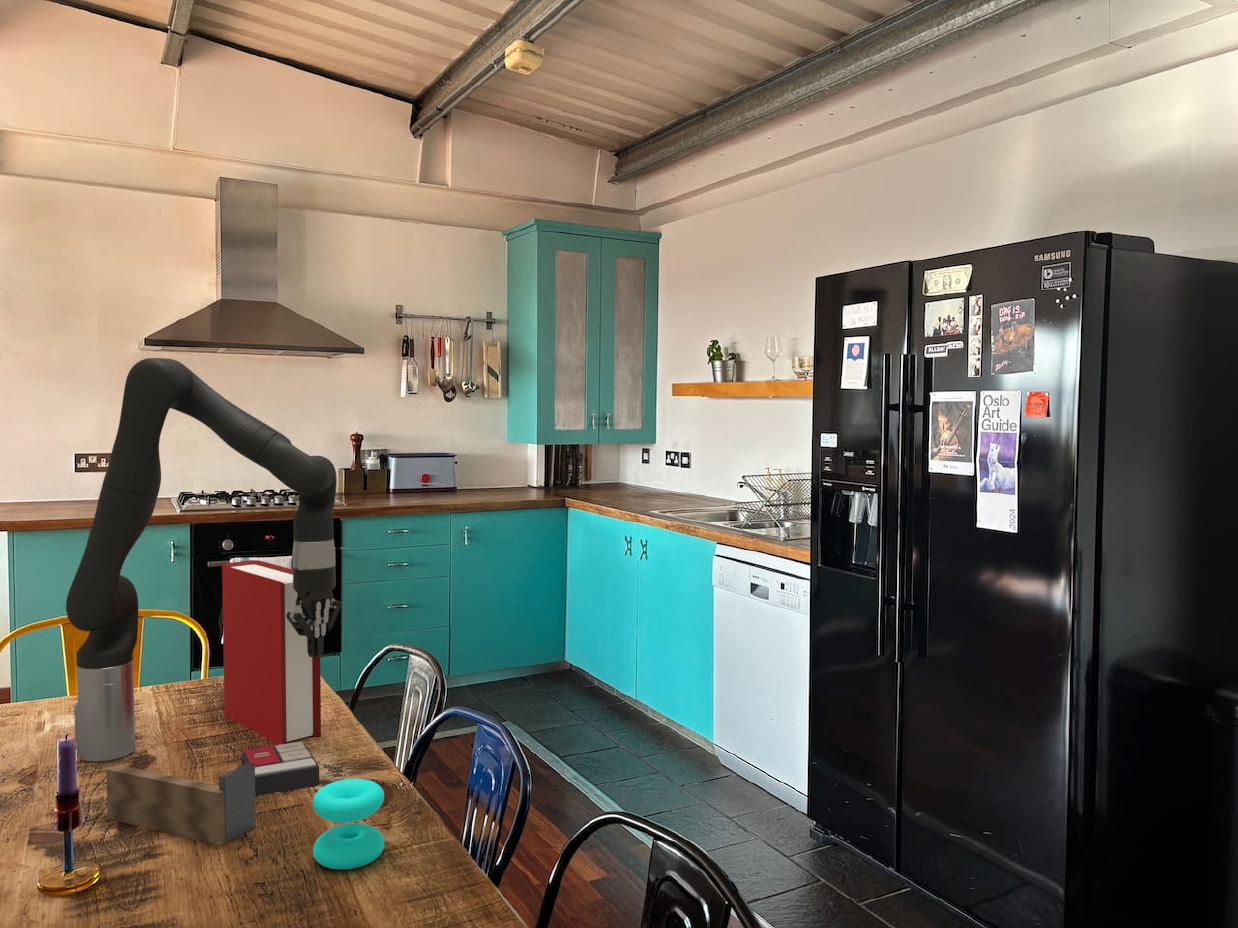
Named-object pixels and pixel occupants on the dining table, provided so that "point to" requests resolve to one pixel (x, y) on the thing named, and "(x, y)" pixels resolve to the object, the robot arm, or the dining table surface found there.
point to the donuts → (349, 840)
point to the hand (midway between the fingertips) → (315, 656)
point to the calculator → (282, 768)
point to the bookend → (239, 800)
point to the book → (267, 655)
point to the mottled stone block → (166, 804)
